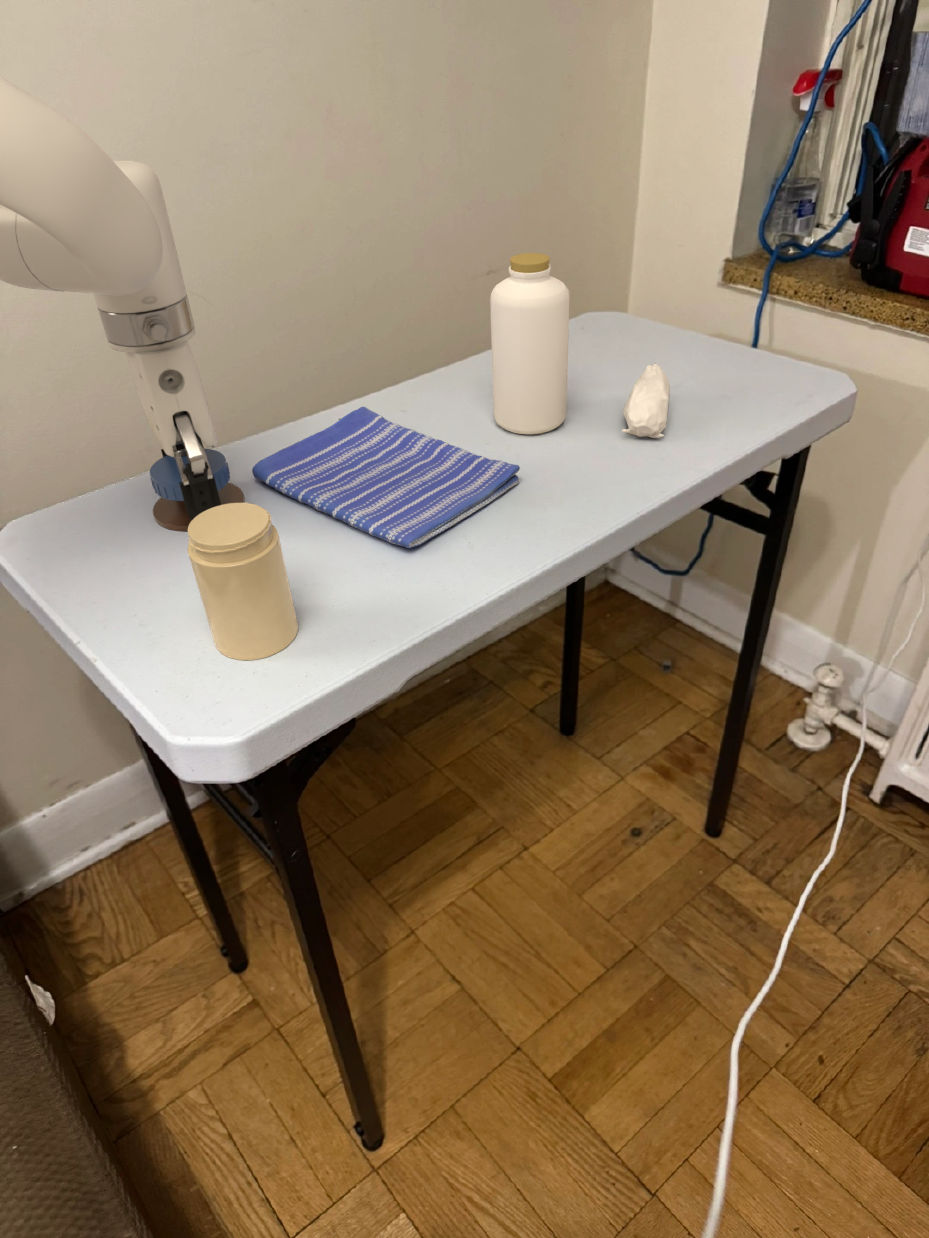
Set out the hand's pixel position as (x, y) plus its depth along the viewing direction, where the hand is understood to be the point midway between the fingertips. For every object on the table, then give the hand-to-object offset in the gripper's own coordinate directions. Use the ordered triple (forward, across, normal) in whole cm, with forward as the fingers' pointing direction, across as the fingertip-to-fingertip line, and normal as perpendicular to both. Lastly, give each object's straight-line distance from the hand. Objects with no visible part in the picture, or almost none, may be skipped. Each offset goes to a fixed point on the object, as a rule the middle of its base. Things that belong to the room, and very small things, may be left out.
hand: (195, 496), depth 87 cm
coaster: (+1, 0, 0) cm, 1 cm away
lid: (-3, 0, 0) cm, 3 cm away
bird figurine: (+1, -9, -49) cm, 50 cm away
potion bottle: (+1, -1, -38) cm, 38 cm away
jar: (+1, -23, +1) cm, 23 cm away
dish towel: (+1, -5, -18) cm, 19 cm away
